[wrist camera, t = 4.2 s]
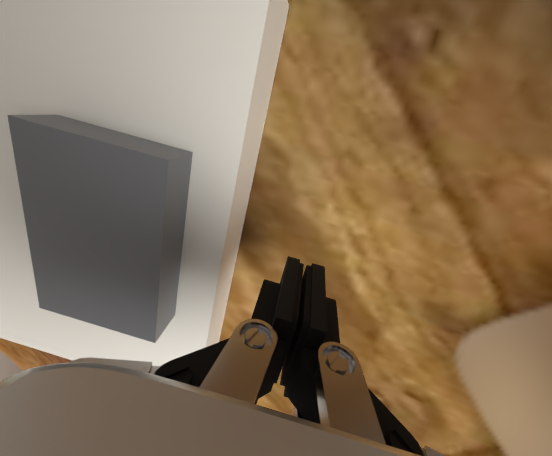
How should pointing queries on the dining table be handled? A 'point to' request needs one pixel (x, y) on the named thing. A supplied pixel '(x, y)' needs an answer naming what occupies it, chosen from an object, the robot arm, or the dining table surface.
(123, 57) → the plate
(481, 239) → the dining table surface
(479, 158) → the dining table surface
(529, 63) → the dining table surface
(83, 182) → the tile
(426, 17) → the dining table surface
